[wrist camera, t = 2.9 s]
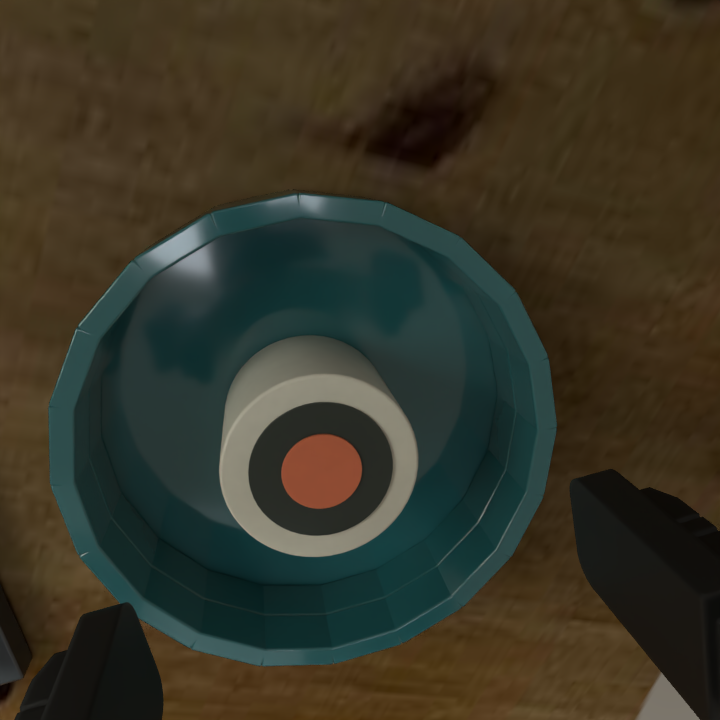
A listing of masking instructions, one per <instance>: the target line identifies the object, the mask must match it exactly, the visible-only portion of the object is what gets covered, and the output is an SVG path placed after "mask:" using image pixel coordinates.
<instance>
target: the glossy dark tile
mask: <svg viewBox="0 0 720 720" xmlns="http://www.w3.org/2000/svg"><path fill="white" fill-rule="evenodd" d="M31 660H32V655H31V652H30V650H29V648H28V646H27V643H26V641H25V639H24V637H23V634H22V632H21V630H20V628H19V626H18V623H17V621H16V619H15V617H14V614H13V612H12V610H11V608H10V605H9V603H8V601H7V599H6V597H5V594H4V592H3V590H2V588H1V585H0V685H3V684H7V683H10V682H14V681H17V680H21V679H22V678H24V676H25V674H26V671H27V669H28V667H29V665H30V662H31Z"/></svg>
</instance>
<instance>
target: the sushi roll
mask: <svg viewBox="0 0 720 720" xmlns="http://www.w3.org/2000/svg"><path fill="white" fill-rule="evenodd" d="M417 471H418V448H417V442H416V438H415V434H414V431H413V429H412V427H411V424H410V422H409V420H408V418H407V417H406V415H405V414H404V412H403V410H402V409H401V407H400V406H399V404H398V403H397V401H396V399H395V398H394V396H393V395H392V393H391V392H390V390H389V389H388V387H387V386H386V384H385V382H384V381H383V379H382V378H381V376H380V375H379V373H378V372H377V370H376V369H375V367H374V366H373V365H372V363H371V362H370V361H369V360H368V359H367V358H366V357H365V356H364V355H363V354H362V353H360V352H359V351H358V350H356V349H355V348H353V347H352V346H350V345H348V344H346V343H344V342H342V341H339V340H336V339H333V338H329V337H324V336H315V335H305V336H295V337H290V338H286V339H283V340H280V341H277V342H275V343H273V344H270V345H268V346H267V347H265V348H263V349H262V350H260V351H259V352H257V353H256V354H255V355H254V356H252V357H251V358H250V359H249V360H248V361H247V362H246V363H245V364H244V365H243V366H242V368H241V369H240V370H239V372H238V373H237V375H236V376H235V378H234V380H233V382H232V384H231V386H230V389H229V392H228V394H227V399H226V403H225V411H224V422H223V432H222V442H221V452H220V464H219V476H220V485H221V489H222V494H223V497H224V499H225V502H226V504H227V507H228V508H229V510H230V512H231V514H232V515H233V517H234V518H235V519H236V521H237V522H238V523H239V525H240V526H241V527H242V528H243V529H244V530H245V531H246V532H247V533H248V534H249V535H251V536H252V537H254V538H255V539H256V540H258V541H259V542H261V543H262V544H264V545H266V546H268V547H270V548H272V549H275V550H277V551H280V552H283V553H287V554H290V555H295V556H303V557H323V556H331V555H336V554H341V553H344V552H347V551H350V550H353V549H355V548H358V547H360V546H362V545H364V544H366V543H367V542H369V541H371V540H372V539H374V538H376V537H377V536H378V535H379V534H381V533H382V532H383V531H384V530H386V529H387V528H388V527H389V526H390V525H391V524H392V523H393V522H394V521H395V519H396V518H397V517H398V516H399V514H400V513H401V512H402V510H403V508H404V507H405V505H406V503H407V502H408V500H409V497H410V495H411V493H412V491H413V488H414V484H415V481H416V477H417Z"/></svg>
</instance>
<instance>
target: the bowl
mask: <svg viewBox="0 0 720 720" xmlns="http://www.w3.org/2000/svg"><path fill="white" fill-rule="evenodd" d="M305 335H315V336H324V337H329V338H333V339H336V340H339V341H342V342H344V343H346V344H348V345H350V346H352V347H353V348H355V349H356V350H358V351H359V352H360V353H362V354H363V355H364V356H365V357H366V358H367V359H368V360H369V361H370V362H371V363H372V365H373V366H374V367H375V369H376V370H377V372H378V373H379V375H380V376H381V378H382V379H383V381H384V382H385V384H386V386H387V387H388V389H389V390H390V392H391V393H392V395H393V396H394V398H395V399H396V401H397V403H398V404H399V406H400V407H401V409H402V410H403V412H404V414H405V415H406V417H407V418H408V420H409V422H410V424H411V427H412V429H413V431H414V434H415V438H416V442H417V448H418V471H417V477H416V481H415V484H414V488H413V491H412V493H411V495H410V497H409V500H408V502H407V503H406V505H405V507H404V508H403V510H402V512H401V513H400V514H399V516H398V517H397V518H396V519H395V521H394V522H393V523H392V524H391V525H390V526H389V527H388V528H387V529H386V530H384V531H383V532H382V533H381V534H379V535H378V536H377V537H376V538H374V539H372V540H371V541H369V542H367V543H366V544H364V545H362V546H360V547H358V548H355V549H353V550H350V551H347V552H344V553H341V554H336V555H331V556H323V557H303V556H295V555H290V554H287V553H283V552H280V551H277V550H275V549H272V548H270V547H268V546H266V545H264V544H262V543H261V542H259V541H258V540H256V539H255V538H254V537H252V536H251V535H249V534H248V533H247V532H246V531H245V530H244V529H243V528H242V527H241V526H240V525H239V523H238V522H237V521H236V519H235V518H234V517H233V515H232V514H231V512H230V510H229V508H228V507H227V504H226V502H225V499H224V497H223V494H222V489H221V485H220V476H219V464H220V452H221V442H222V432H223V422H224V411H225V403H226V399H227V394H228V392H229V389H230V386H231V384H232V382H233V380H234V378H235V376H236V375H237V373H238V372H239V370H240V369H241V368H242V366H243V365H244V364H245V363H246V362H247V361H248V360H249V359H250V358H251V357H252V356H254V355H255V354H256V353H257V352H259V351H260V350H262V349H263V348H265V347H267V346H268V345H270V344H273V343H275V342H277V341H280V340H283V339H286V338H290V337H295V336H305ZM48 415H49V467H50V485H51V488H52V491H53V493H54V496H55V498H56V501H57V503H58V506H59V508H60V511H61V514H62V516H63V519H64V521H65V524H66V526H67V529H68V531H69V534H70V536H71V539H72V541H73V544H74V546H75V549H76V551H77V554H78V555H79V556H80V559H81V560H82V561H83V562H84V563H85V564H86V565H87V566H88V568H89V569H90V570H91V571H92V572H93V573H94V574H95V576H96V577H97V578H98V579H99V580H100V581H101V582H102V584H103V585H104V586H105V587H106V588H107V589H108V590H109V592H110V593H111V594H112V595H113V596H114V597H115V598H116V599H117V601H118V602H119V603H120V604H122V603H125V602H128V603H130V604H131V605H132V606H133V608H134V610H135V612H136V614H137V617H138V618H139V619H140V620H142V621H144V622H145V623H147V624H149V625H150V626H152V627H154V628H156V629H157V630H159V631H161V632H162V633H164V634H166V635H167V636H169V637H171V638H173V639H174V640H176V641H178V642H179V643H181V644H183V645H184V646H186V647H188V648H191V649H192V650H195V651H199V652H203V653H207V654H211V655H215V656H219V657H223V658H227V659H232V660H236V661H240V662H244V663H248V664H252V665H256V666H261V665H262V666H297V665H331V664H333V663H334V664H337V663H340V662H343V661H347V660H350V659H354V658H357V657H360V656H364V655H367V654H370V653H374V652H377V651H381V650H384V649H387V648H391V647H394V646H398V645H400V644H401V642H402V643H405V642H406V641H408V640H410V639H411V638H413V637H415V636H416V635H418V634H420V633H421V632H423V631H425V630H426V629H428V628H430V627H431V626H433V625H435V624H436V623H438V622H440V621H441V620H443V619H445V618H446V617H448V616H450V615H451V614H453V613H455V612H456V611H458V610H460V609H461V608H462V606H465V605H466V604H467V603H468V602H469V600H470V599H471V598H472V597H473V596H474V595H475V594H476V593H477V592H478V591H479V590H480V589H481V588H482V587H483V586H484V585H485V584H486V583H487V582H488V581H489V580H490V579H491V578H492V577H493V576H494V575H495V573H496V572H497V571H498V570H499V569H500V568H501V567H502V566H503V565H504V564H505V563H506V562H507V561H508V560H509V559H510V557H511V556H512V555H513V553H514V552H515V550H516V548H517V546H518V544H519V542H520V540H521V538H522V537H523V535H524V533H525V531H526V529H527V527H528V525H529V523H530V522H531V520H532V518H533V516H534V514H535V512H536V510H537V508H538V507H539V505H540V503H541V501H542V499H543V497H544V496H543V495H544V493H545V488H546V483H547V478H548V473H549V468H550V462H551V457H552V452H553V447H554V442H555V437H556V432H557V428H556V427H557V421H556V413H555V404H554V396H553V388H552V380H551V372H550V364H549V358H548V354H547V352H546V350H545V348H544V346H543V344H542V342H541V340H540V338H539V336H538V334H537V332H536V330H535V328H534V326H533V324H532V322H531V320H530V318H529V315H528V313H527V311H526V309H525V307H524V305H523V303H522V301H521V299H520V297H519V295H518V293H517V292H516V291H515V289H514V288H513V287H512V286H511V285H510V284H509V283H508V282H507V281H506V280H505V279H504V278H503V277H502V276H501V275H500V274H499V273H498V272H497V271H496V270H495V269H494V268H493V267H492V266H491V265H490V264H489V263H488V262H487V261H486V260H484V259H483V258H482V257H481V256H480V255H479V254H478V253H477V252H476V251H475V250H474V249H473V248H472V247H471V246H470V245H469V244H468V243H467V242H466V241H465V240H464V239H463V238H461V237H460V236H459V235H457V234H455V233H453V232H450V231H448V230H446V229H444V228H442V227H440V226H438V225H435V224H433V223H431V222H429V221H427V220H425V219H422V218H420V217H418V216H416V215H414V214H412V213H410V212H407V211H405V210H403V209H401V208H399V207H397V206H394V205H392V204H390V203H388V202H384V201H380V200H376V199H371V198H366V197H362V196H352V195H343V194H333V193H324V192H315V191H305V190H296V189H292V190H289V189H288V190H283V191H279V192H274V193H270V194H265V195H261V196H254V197H250V198H247V199H243V200H238V201H234V202H229V203H225V204H220V205H217V206H214V207H213V208H211V209H209V210H208V211H206V212H204V213H203V214H201V215H199V216H198V217H196V218H194V219H193V220H191V221H189V222H188V223H186V224H185V225H183V226H181V227H180V228H178V229H176V230H175V231H173V232H171V233H170V234H168V235H166V236H165V237H163V238H161V239H160V240H158V241H156V242H155V243H153V244H152V245H150V246H149V247H148V248H146V249H145V250H144V251H143V252H141V253H140V254H139V255H137V256H136V257H135V258H134V259H133V260H131V261H130V262H129V264H128V265H127V266H126V267H125V268H124V270H123V271H122V272H121V273H120V274H119V276H118V277H117V278H116V279H115V280H114V282H113V283H112V284H111V285H110V287H109V288H108V289H107V290H106V291H105V293H104V294H103V295H102V296H101V297H100V299H99V300H98V301H97V302H96V303H95V305H94V306H93V307H92V308H91V310H90V311H89V312H88V313H87V314H86V316H85V317H84V318H83V319H82V320H81V322H80V323H79V324H78V327H77V328H76V329H75V332H74V335H73V337H72V340H71V343H70V346H69V349H68V351H67V354H66V357H65V360H64V363H63V366H62V368H61V371H60V374H59V377H58V380H57V382H56V385H55V388H54V391H53V394H52V397H51V399H50V402H49V408H48Z"/></svg>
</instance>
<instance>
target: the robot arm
mask: <svg viewBox="0 0 720 720" xmlns="http://www.w3.org/2000/svg"><path fill="white" fill-rule="evenodd" d="M570 498H571V505H572V513H573V521H574V529H575V537H576V544H577V552H578V557H579V560H580V564H581V567H582V569H583V572H584V574H585V576H586V578H587V580H588V582H589V583H590V585H591V586H592V588H593V589H594V590H595V591H596V593H597V594H598V595H599V596H600V598H601V599H602V600H603V601H604V602H605V604H606V605H607V606H608V607H609V609H610V610H611V611H612V612H613V613H614V615H615V616H616V617H617V618H618V620H619V621H620V622H621V623H622V624H623V626H624V627H625V628H626V629H627V631H628V632H629V633H630V634H631V635H632V637H633V638H634V639H635V640H636V642H637V643H638V644H639V645H640V646H641V648H642V649H643V650H644V651H645V653H646V654H647V655H648V656H649V658H650V659H651V660H652V661H653V662H654V664H655V665H656V666H657V667H658V669H659V670H660V671H661V672H662V673H663V675H664V676H665V677H666V678H667V680H668V681H669V682H670V683H671V684H672V686H673V687H674V688H675V689H676V690H677V692H678V693H679V694H680V695H681V697H682V698H683V699H684V700H685V701H686V703H687V704H688V705H689V706H690V708H691V709H692V710H693V711H694V713H695V714H696V715H697V716H698V717H699V719H700V720H720V531H718V530H717V528H716V527H715V526H714V525H713V524H712V523H710V522H709V521H708V520H706V519H705V518H704V517H700V516H699V513H697V512H696V511H695V510H693V509H692V508H691V507H689V506H688V505H687V504H685V503H684V502H683V501H682V500H680V499H679V498H677V497H674V496H672V495H669V494H666V493H664V492H661V491H658V490H656V489H653V488H650V487H649V488H645V489H642V490H639V489H638V488H636V487H635V486H634V485H633V484H632V483H630V482H629V481H628V480H627V479H625V478H624V477H623V476H622V475H621V474H619V473H618V472H617V471H615V470H613V469H608V470H605V471H601V472H598V473H594V474H590V475H587V476H583V477H580V478H576V479H573V480H572V481H571V483H570ZM162 714H163V690H162V683H161V679H160V675H159V672H158V669H157V666H156V664H155V661H154V658H153V656H152V653H151V651H150V648H149V645H148V643H147V640H146V638H145V635H144V632H143V630H142V627H141V624H140V622H139V619H138V617H137V614H136V612H135V610H134V608H133V606H132V605H131V604H130V603H128V602H125V603H122V604H118V605H115V606H111V607H107V608H104V609H100V610H97V611H93V612H89V613H86V614H83V615H82V616H81V618H80V620H79V622H78V624H77V627H76V630H75V632H74V635H73V637H72V640H71V642H70V645H69V648H68V650H66V651H62V652H59V653H55V654H54V655H53V656H52V657H51V658H50V660H49V661H48V662H47V663H46V664H45V665H44V667H43V668H42V669H41V670H40V671H39V672H38V674H37V675H36V676H35V677H34V678H33V679H32V681H31V683H30V685H29V688H28V690H27V692H26V695H25V697H24V699H23V701H22V704H21V706H20V713H17V715H16V717H15V720H162Z"/></svg>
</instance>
